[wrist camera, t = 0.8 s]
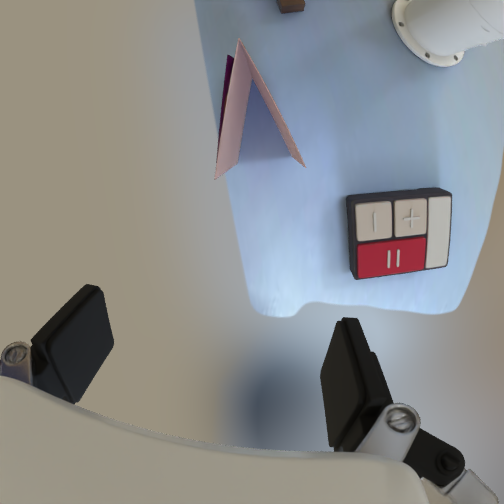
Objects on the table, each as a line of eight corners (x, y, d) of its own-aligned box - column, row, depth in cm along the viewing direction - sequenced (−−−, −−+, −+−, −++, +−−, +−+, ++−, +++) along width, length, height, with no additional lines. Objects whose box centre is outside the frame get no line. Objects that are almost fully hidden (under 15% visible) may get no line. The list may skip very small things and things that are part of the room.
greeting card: (245, 76, 30) (227, 37, 17) (304, 86, 30) (326, 52, 17) (230, 162, 35) (203, 178, 21) (288, 172, 35) (300, 194, 21)
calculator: (351, 201, 32) (455, 193, 29) (344, 194, 36) (440, 187, 33) (354, 283, 36) (449, 269, 33) (349, 269, 40) (437, 257, 37)
